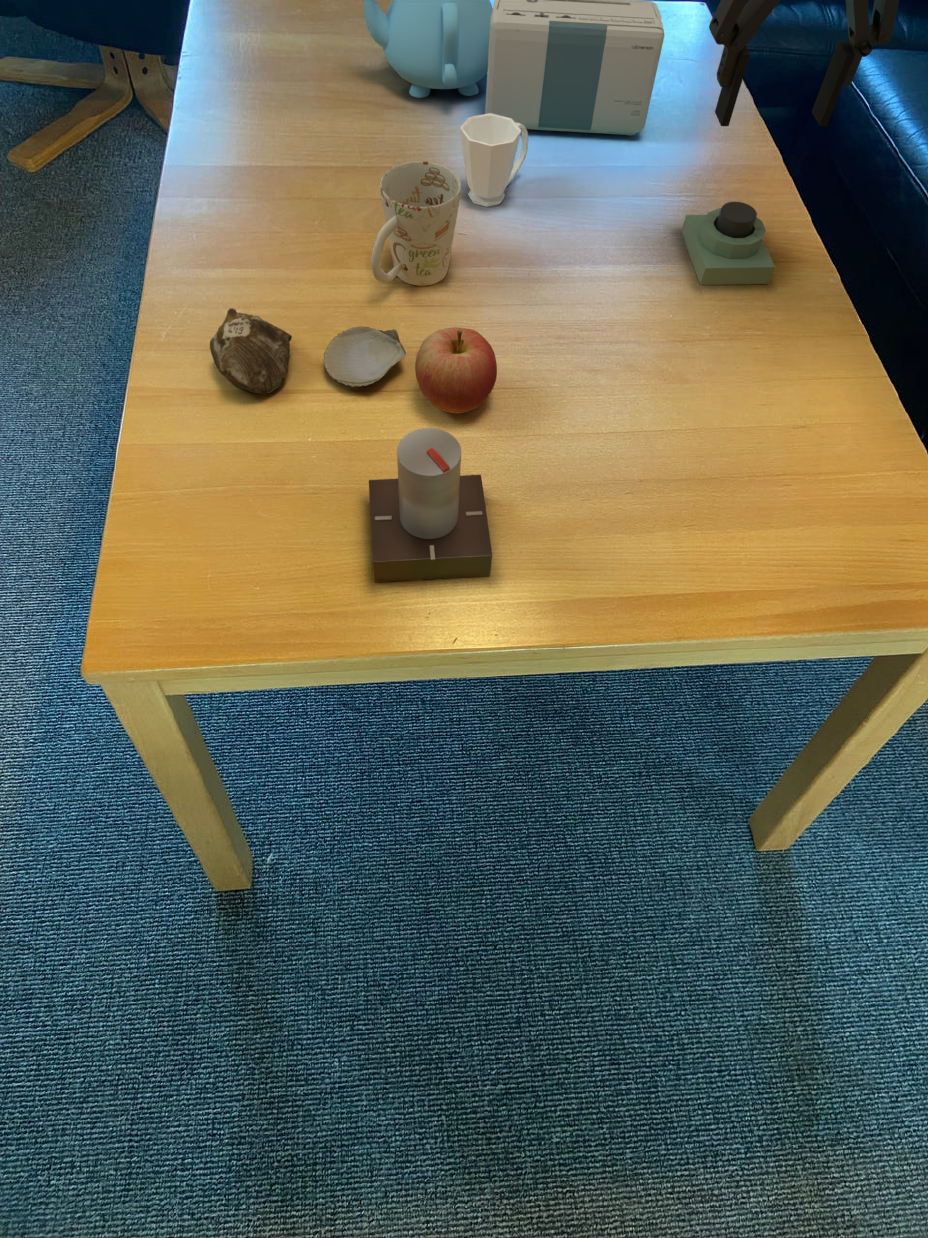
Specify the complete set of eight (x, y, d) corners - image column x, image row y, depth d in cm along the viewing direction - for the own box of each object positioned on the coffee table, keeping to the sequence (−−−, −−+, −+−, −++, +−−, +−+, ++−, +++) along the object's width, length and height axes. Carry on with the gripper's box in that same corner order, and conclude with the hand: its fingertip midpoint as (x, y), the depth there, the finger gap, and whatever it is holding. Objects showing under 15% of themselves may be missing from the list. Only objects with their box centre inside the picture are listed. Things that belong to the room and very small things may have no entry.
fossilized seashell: (223, 307, 85) (190, 385, 81) (242, 271, 80) (207, 352, 76) (290, 345, 88) (261, 421, 84) (313, 312, 83) (283, 392, 79)
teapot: (351, 80, 115) (343, -42, 103) (445, 33, 123) (448, -84, 111) (438, 126, 110) (440, 3, 98) (530, 74, 118) (542, -45, 106)
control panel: (479, 495, 76) (481, 472, 74) (490, 577, 72) (492, 555, 69) (370, 500, 76) (368, 477, 73) (374, 583, 71) (372, 562, 68)
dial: (388, 509, 71) (384, 440, 64) (437, 485, 73) (438, 416, 66) (420, 548, 69) (419, 482, 62) (469, 523, 71) (474, 455, 64)
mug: (471, 263, 94) (476, 178, 86) (410, 323, 89) (408, 238, 80) (411, 237, 97) (409, 151, 88) (346, 295, 91) (338, 208, 82)
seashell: (326, 363, 87) (333, 401, 82) (317, 336, 85) (324, 374, 80) (401, 342, 88) (413, 379, 82) (395, 315, 85) (406, 351, 80)
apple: (449, 359, 86) (451, 293, 79) (510, 395, 83) (517, 330, 77) (398, 400, 82) (395, 335, 76) (459, 439, 80) (462, 375, 73)
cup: (446, 194, 101) (447, 126, 95) (502, 164, 105) (507, 97, 98) (487, 220, 99) (491, 152, 92) (543, 188, 103) (551, 120, 96)
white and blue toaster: (484, 134, 109) (494, -50, 92) (485, 101, 113) (495, -80, 96) (642, 143, 109) (682, -39, 92) (637, 110, 114) (674, -70, 97)
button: (755, 239, 93) (761, 222, 91) (720, 239, 93) (726, 222, 91) (745, 217, 95) (751, 200, 93) (711, 218, 95) (717, 201, 93)
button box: (768, 283, 95) (781, 252, 91) (700, 285, 94) (710, 253, 91) (745, 230, 100) (757, 199, 96) (681, 231, 99) (690, 199, 96)
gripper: (986, -192, 67) (863, 99, 86) (722, -200, 66) (655, 99, 85) (1026, -159, 64) (888, 138, 83) (746, -166, 62) (671, 139, 81)
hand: (770, 118), depth 84 cm, fingers open, 9 cm apart
